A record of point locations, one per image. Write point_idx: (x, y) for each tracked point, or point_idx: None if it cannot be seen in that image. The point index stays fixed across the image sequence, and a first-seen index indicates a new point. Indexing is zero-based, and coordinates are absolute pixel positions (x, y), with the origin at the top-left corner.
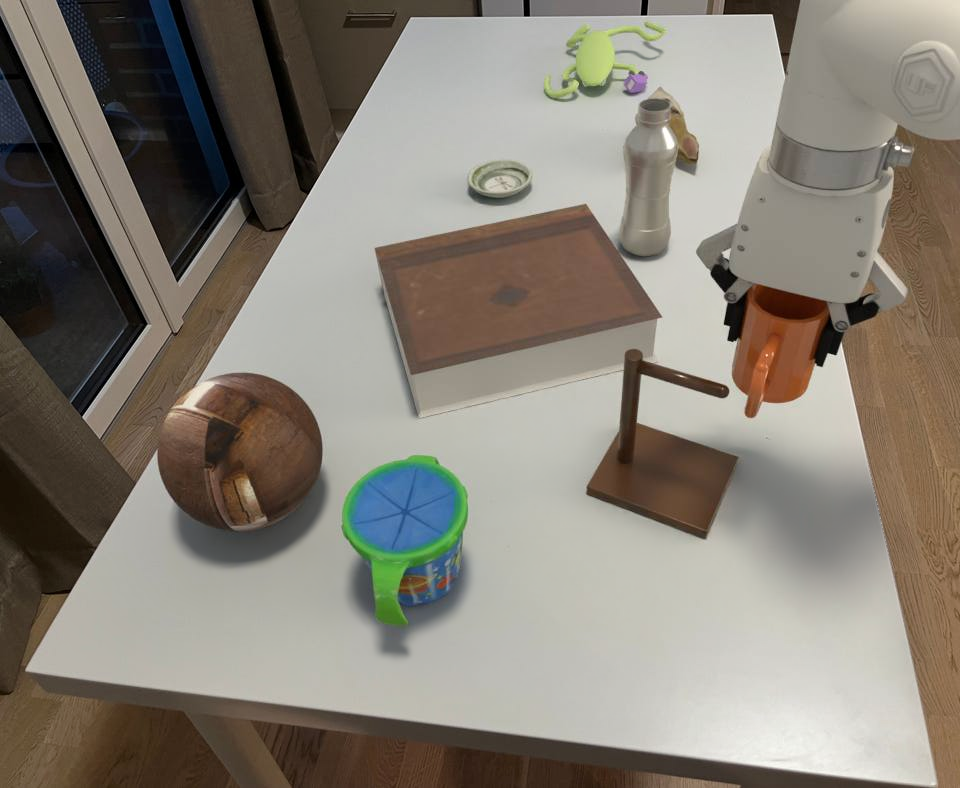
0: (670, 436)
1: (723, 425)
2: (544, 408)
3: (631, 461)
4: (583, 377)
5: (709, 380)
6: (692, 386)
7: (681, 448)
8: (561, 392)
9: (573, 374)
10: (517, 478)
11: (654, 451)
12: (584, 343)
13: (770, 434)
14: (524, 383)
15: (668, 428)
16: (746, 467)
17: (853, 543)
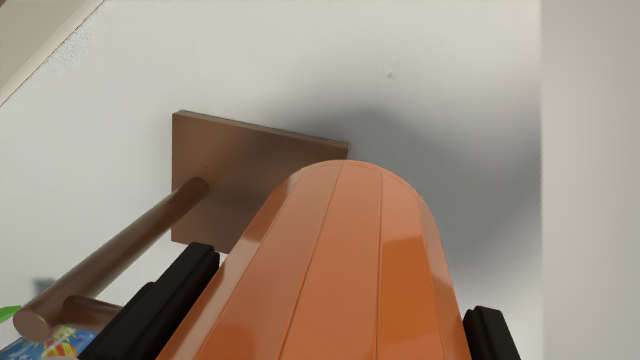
0: (243, 132)
1: (319, 65)
2: (65, 103)
3: (207, 193)
4: (81, 18)
5: None
6: None
7: (264, 153)
8: (69, 62)
9: (62, 22)
10: (98, 227)
11: (230, 167)
12: (14, 7)
13: (395, 65)
14: (8, 73)
15: (240, 96)
16: (363, 145)
17: (509, 239)
